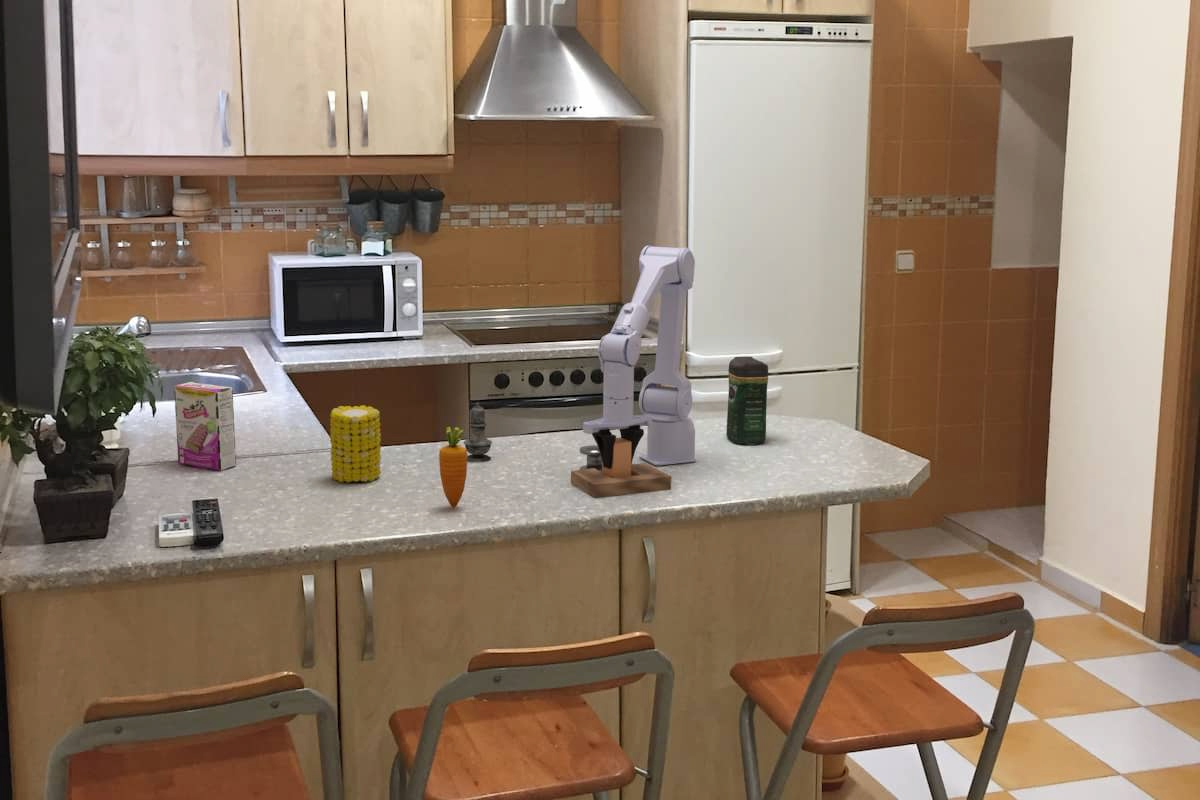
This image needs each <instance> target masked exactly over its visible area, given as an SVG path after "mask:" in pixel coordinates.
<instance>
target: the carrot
mask: <svg viewBox="0 0 1200 800" xmlns="http://www.w3.org/2000/svg"><path fill="white" fill-rule="evenodd" d="M463 433H464V430H463V429H460V428H459V427H454V429H453V431H452V429H451V427H450V426H448V427H446V434H445V435H446V438H447V441H448V442H447V443H448V445H444V446H443V447H441V448H440V450H439V452H438V456H439V457H438V459H439V474H440V479H441V484H442V485H441V486H442V489H443V492H444V495H445V497H446V500H447V502H448V503H449V506H451V507H452V508H453V509H454V508H456V507H457V506H458V504H459V503H460V500H461V498H462V495H463V493H464V490H465V485H466V479H467V471H468V461H467V456H468V451H467V450H466V448H465V446H461V444H459V442H460V441H461V440H462V438H459V437H460V436H461V434H463Z"/></svg>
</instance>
